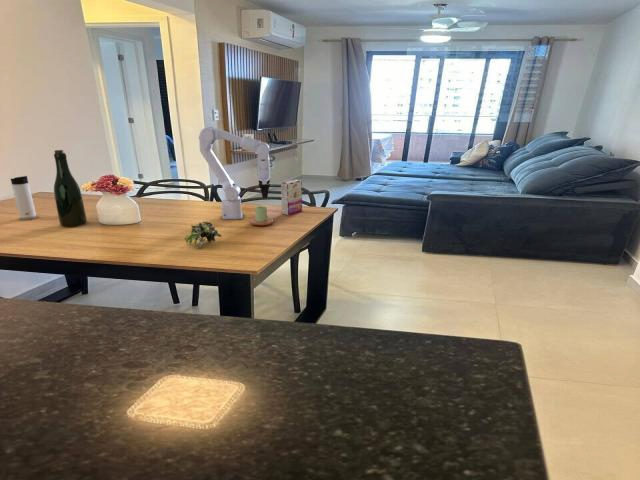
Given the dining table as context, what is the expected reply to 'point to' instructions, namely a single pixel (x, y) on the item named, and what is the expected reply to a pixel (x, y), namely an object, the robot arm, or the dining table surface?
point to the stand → (254, 222)
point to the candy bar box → (291, 197)
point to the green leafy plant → (202, 233)
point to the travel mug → (23, 198)
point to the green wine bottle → (67, 194)
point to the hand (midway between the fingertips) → (264, 196)
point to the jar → (261, 213)
